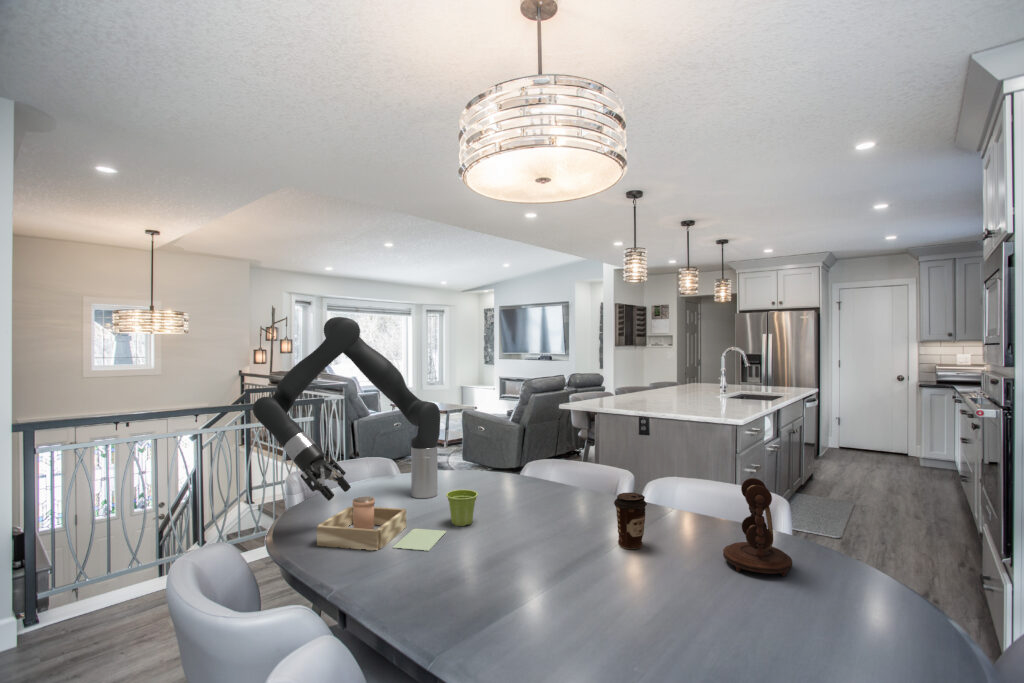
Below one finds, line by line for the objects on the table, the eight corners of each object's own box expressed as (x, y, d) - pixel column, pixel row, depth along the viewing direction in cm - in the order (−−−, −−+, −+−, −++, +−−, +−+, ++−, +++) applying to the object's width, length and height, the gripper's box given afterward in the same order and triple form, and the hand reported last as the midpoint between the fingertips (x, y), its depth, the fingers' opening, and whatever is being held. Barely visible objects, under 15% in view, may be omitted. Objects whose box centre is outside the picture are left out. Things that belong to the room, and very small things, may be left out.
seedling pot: (359, 531, 146) (359, 495, 146) (378, 532, 144) (378, 497, 144) (348, 538, 140) (348, 502, 140) (368, 540, 138) (368, 503, 139)
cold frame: (350, 522, 153) (350, 505, 153) (408, 526, 149) (407, 509, 149) (314, 545, 135) (314, 526, 135) (378, 550, 131) (378, 531, 131)
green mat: (413, 529, 146) (413, 528, 146) (446, 531, 144) (446, 530, 144) (392, 548, 133) (392, 547, 133) (428, 551, 131) (428, 550, 131)
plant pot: (480, 518, 156) (480, 489, 156) (475, 529, 147) (474, 498, 147) (450, 517, 157) (450, 489, 157) (443, 528, 147) (443, 498, 148)
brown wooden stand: (799, 583, 111) (798, 492, 112) (727, 575, 116) (725, 487, 116) (784, 557, 126) (783, 476, 126) (720, 550, 130) (719, 472, 130)
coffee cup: (654, 545, 134) (653, 495, 134) (638, 554, 128) (637, 502, 128) (624, 536, 140) (624, 489, 140) (608, 545, 134) (607, 496, 134)
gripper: (296, 447, 139) (334, 492, 136) (326, 438, 153) (361, 478, 150) (279, 466, 140) (317, 510, 137) (310, 455, 154) (345, 495, 151)
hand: (340, 493), depth 144 cm, fingers open, 8 cm apart
